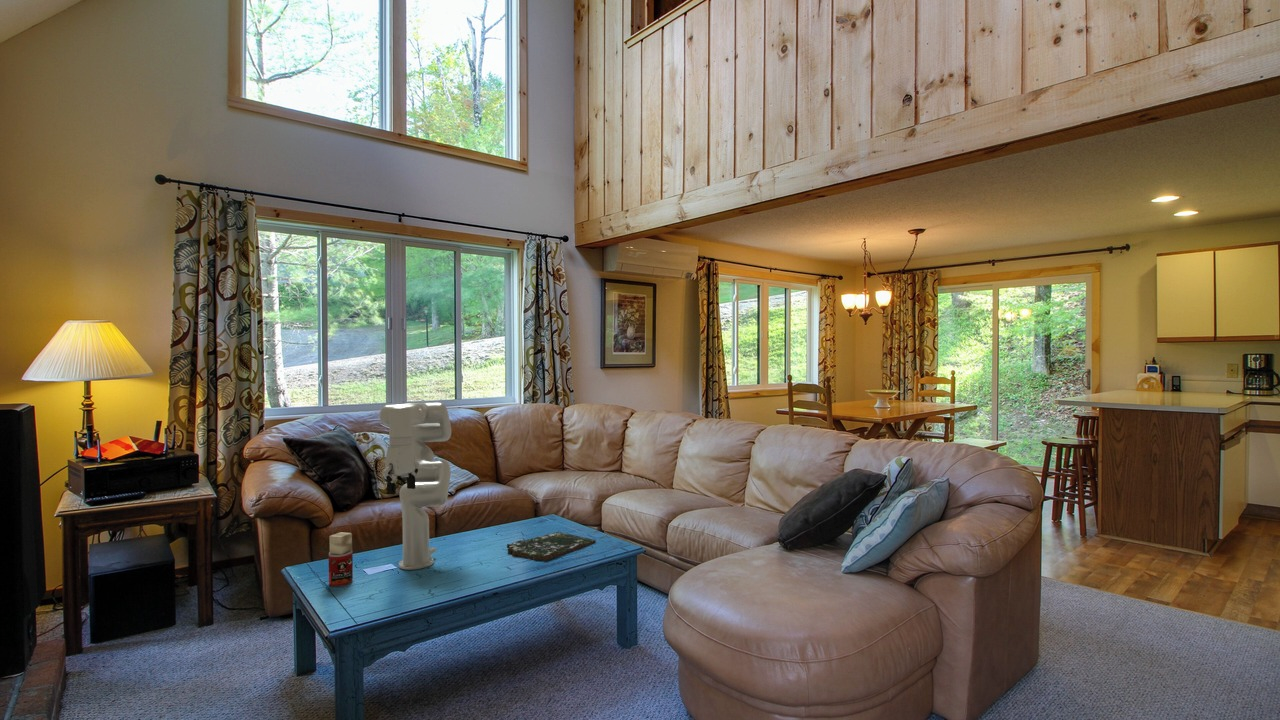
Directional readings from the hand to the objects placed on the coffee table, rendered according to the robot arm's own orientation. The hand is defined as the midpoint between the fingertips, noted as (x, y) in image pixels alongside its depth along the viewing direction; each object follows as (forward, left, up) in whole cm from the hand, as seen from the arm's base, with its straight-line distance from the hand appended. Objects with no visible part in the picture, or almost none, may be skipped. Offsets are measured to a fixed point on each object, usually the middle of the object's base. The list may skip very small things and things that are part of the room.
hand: (401, 491), depth 210 cm
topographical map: (-53, +29, -34) cm, 69 cm away
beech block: (+3, -24, -22) cm, 33 cm away
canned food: (+3, -24, -33) cm, 41 cm away
